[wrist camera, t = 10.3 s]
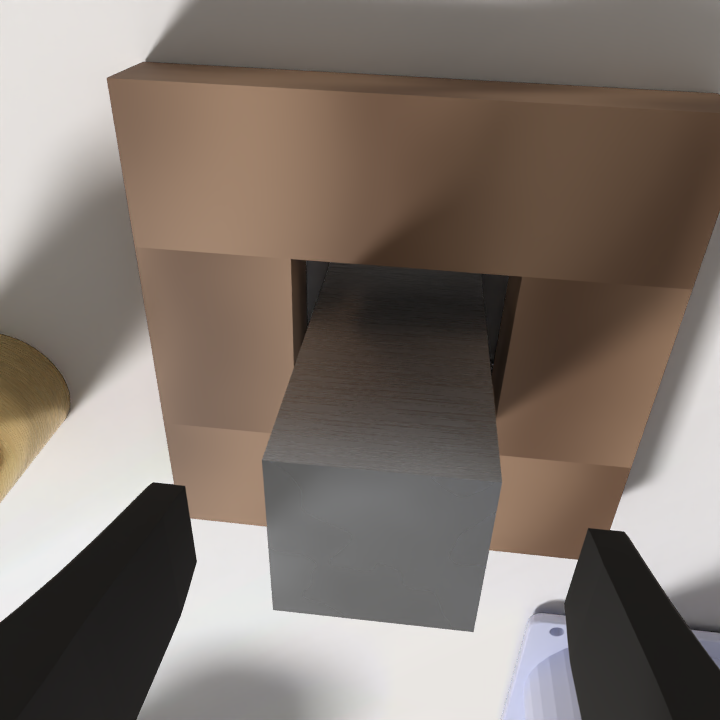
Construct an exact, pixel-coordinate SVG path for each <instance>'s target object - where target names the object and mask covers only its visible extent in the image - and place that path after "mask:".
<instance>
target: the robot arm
mask: <svg viewBox="0 0 720 720" xmlns="http://www.w3.org/2000/svg"><path fill="white" fill-rule="evenodd" d="M196 562H197V560H196V554H195V547H194V540H193V534H192V527H191V521H190V514H189V507H188V501H187V494H186V488H185V486H182V485H173V484H163V483H154V482H153V483H152V484H150V485H149V486H148V487H147V488H146V489H145V490H144V491H143V492H142V493H141V494H140V495H139V496H138V497H137V498H136V499H135V500H134V501H133V502H132V503H131V504H130V505H129V506H128V507H127V508H126V509H125V510H124V511H123V512H122V513H121V514H120V515H119V516H118V517H117V518H116V519H115V520H114V521H113V522H112V523H111V524H110V525H109V526H107V527H106V528H105V529H104V530H103V531H102V532H101V533H100V534H99V535H98V536H97V537H96V538H95V539H94V540H93V541H92V542H91V543H90V544H89V545H88V546H87V547H86V548H85V549H83V550H82V551H81V552H80V553H79V554H78V555H77V556H76V557H75V558H74V559H73V560H72V561H71V562H70V563H69V564H67V565H66V566H65V567H64V568H63V569H62V570H61V571H60V572H59V573H58V574H57V575H55V576H54V577H53V578H52V579H51V580H50V581H49V582H47V583H46V584H45V585H44V586H43V587H42V588H40V589H39V590H38V591H37V592H36V593H35V594H34V595H32V596H31V597H30V598H29V599H28V600H27V601H25V602H24V603H23V604H22V605H21V606H20V607H18V608H17V609H16V610H15V611H14V612H12V613H11V614H10V615H9V616H8V617H6V618H5V619H4V620H3V621H1V622H0V720H136V719H137V717H138V714H139V712H140V710H141V707H142V705H143V703H144V700H145V698H146V696H147V693H148V691H149V689H150V687H151V684H152V682H153V680H154V677H155V675H156V673H157V670H158V668H159V666H160V663H161V661H162V659H163V656H164V654H165V652H166V649H167V647H168V645H169V642H170V640H171V638H172V635H173V633H174V631H175V628H176V626H177V623H178V621H179V618H180V616H181V613H182V610H183V607H184V603H185V600H186V597H187V594H188V590H189V587H190V583H191V580H192V576H193V573H194V569H195V566H196ZM564 604H565V615H556V614H547V613H538V614H534V615H533V616H531V617H530V618H529V620H528V623H527V626H526V630H525V633H524V637H523V641H522V644H521V648H520V651H519V655H518V659H517V662H516V666H515V670H514V673H513V677H512V680H511V684H510V688H509V691H508V695H507V698H506V702H505V706H504V709H503V713H502V717H501V720H720V633H715V632H706V631H698V630H691V629H690V628H689V627H688V625H687V624H686V622H685V621H684V620H683V618H682V617H681V615H680V614H679V612H678V611H677V610H676V608H675V607H674V605H673V604H672V602H671V601H670V599H669V598H668V596H667V595H666V593H665V592H664V590H663V589H662V587H661V586H660V585H659V583H658V582H657V580H656V578H655V577H654V575H653V574H652V572H651V571H650V569H649V568H648V566H647V565H646V563H645V562H644V560H643V559H642V557H641V555H640V554H639V552H638V551H637V549H636V548H635V546H634V545H633V543H632V541H631V540H630V538H629V537H628V536H627V535H626V533H625V532H622V531H612V530H603V529H593V528H588V530H587V533H586V537H585V540H584V543H583V546H582V549H581V552H580V556H579V559H578V562H577V565H576V568H575V571H574V575H573V578H572V581H571V584H570V587H569V590H568V594H567V597H566V600H565V603H564Z"/></svg>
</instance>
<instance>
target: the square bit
mask: <svg viewBox="0 0 720 720" xmlns="http://www.w3.org/2000/svg"><path fill="white" fill-rule="evenodd" d="M262 469H263V482H264V496H265V509H266V522H267V535H268V548H269V561H270V575H271V588H272V601H273V610H279V611H288V612H297V613H306V614H315V615H324V616H333V617H342V618H351V619H360V620H369V621H378V622H387V623H397V624H406V625H415V626H424V627H433V628H442V629H451V630H460V631H469V632H473V631H474V626H475V621H476V616H477V611H478V605H479V600H480V595H481V590H482V585H483V579H484V574H485V569H486V564H487V559H488V553H489V548H490V543H491V538H492V533H493V528H494V522H495V517H496V512H497V507H498V502H499V496H500V491H501V486H502V476H501V466H500V456H499V446H498V436H497V426H496V416H495V406H494V397H493V387H492V377H491V367H490V357H489V347H488V337H487V327H486V317H485V308H484V298H483V288H482V278H481V273H468V272H455V271H442V270H428V269H415V268H402V267H389V266H376V265H363V264H350V263H337V262H330V265H329V268H328V270H327V273H326V276H325V279H324V282H323V285H322V288H321V291H320V294H319V296H318V299H317V302H316V305H315V308H314V311H313V314H312V317H311V320H310V322H309V325H308V328H307V331H306V334H305V337H304V340H303V343H302V346H301V348H300V351H299V354H298V357H297V360H296V363H295V366H294V369H293V372H292V374H291V377H290V380H289V383H288V386H287V389H286V392H285V395H284V398H283V400H282V403H281V406H280V409H279V412H278V415H277V418H276V421H275V424H274V426H273V429H272V432H271V435H270V438H269V441H268V444H267V447H266V450H265V452H264V455H263V458H262Z"/></svg>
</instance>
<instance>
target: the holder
mask: <svg viewBox="0 0 720 720" xmlns="http://www.w3.org/2000/svg"><path fill="white" fill-rule="evenodd" d="M107 83H108V89H109V95H110V101H111V107H112V113H113V119H114V125H115V131H116V137H117V143H118V149H119V155H120V161H121V167H122V173H123V179H124V185H125V191H126V197H127V203H128V209H129V215H130V221H131V227H132V233H133V239H134V245H135V251H136V257H137V263H138V269H139V275H140V281H141V287H142V293H143V299H144V305H145V311H146V317H147V324H148V330H149V336H150V342H151V348H152V354H153V360H154V366H155V372H156V378H157V384H158V390H159V396H160V402H161V408H162V414H163V420H164V426H165V432H166V438H167V444H168V450H169V456H170V462H171V468H172V474H173V480H174V485H182V486H185V488H186V494H187V501H188V507H189V514H190V518H192V519H202V520H211V521H220V522H230V523H239V524H249V525H258V526H267V522H266V509H265V496H264V482H263V469H262V458H263V455H264V452H265V450H266V447H267V444H268V441H269V438H270V435H271V432H272V429H273V426H274V424H275V421H276V418H277V415H278V412H279V409H280V406H281V403H282V400H283V398H284V395H285V392H286V389H287V386H288V383H289V380H290V377H291V374H292V372H293V369H294V366H295V363H296V360H297V357H298V354H299V351H300V348H301V346H302V343H303V340H304V337H305V334H306V331H307V282H306V260H310V261H324V262H337V263H350V264H363V265H376V266H389V267H402V268H415V269H428V270H442V271H455V272H468V273H481V274H494V275H507V276H509V279H508V285H507V290H506V296H505V302H504V308H503V314H502V320H501V325H500V331H499V337H498V343H497V349H496V354H495V360H494V366H493V372H492V387H493V397H494V406H495V416H496V426H497V436H498V446H499V456H500V466H501V476H502V486H501V491H500V496H499V502H498V507H497V512H496V517H495V522H494V528H493V533H492V538H491V543H490V548H489V550H493V551H502V552H511V553H521V554H530V555H540V556H549V557H558V558H568V559H577V560H578V559H579V556H580V552H581V549H582V546H583V543H584V540H585V537H586V533H587V530H588V528H593V529H603V530H610V528H611V525H612V522H613V519H614V516H615V513H616V510H617V507H618V504H619V502H620V499H621V496H622V493H623V490H624V487H625V484H626V481H627V478H628V475H629V473H630V470H631V467H632V464H633V461H634V458H635V455H636V452H637V449H638V446H639V443H640V441H641V438H642V435H643V432H644V429H645V426H646V423H647V420H648V417H649V414H650V412H651V409H652V406H653V403H654V400H655V397H656V394H657V391H658V388H659V385H660V382H661V380H662V377H663V374H664V371H665V368H666V365H667V362H668V359H669V356H670V353H671V350H672V348H673V345H674V342H675V339H676V336H677V333H678V330H679V327H680V324H681V321H682V319H683V316H684V313H685V310H686V307H687V304H688V301H689V298H690V295H691V292H692V289H693V287H694V284H695V281H696V278H697V275H698V272H699V269H700V266H701V263H702V260H703V258H704V255H705V252H706V249H707V246H708V243H709V240H710V237H711V234H712V231H713V228H714V226H715V223H716V220H717V217H718V214H719V211H720V95H719V94H717V93H699V92H681V91H663V90H645V89H627V88H608V87H590V86H572V85H554V84H536V83H518V82H500V81H482V80H463V79H445V78H427V77H409V76H391V75H373V74H355V73H336V72H318V71H300V70H282V69H264V68H246V67H228V66H209V65H191V64H173V63H155V62H142V63H139V64H137V65H135V66H133V67H130V68H128V69H126V70H124V71H121V72H119V73H117V74H115V75H112V76H110V77H108V78H107Z"/></svg>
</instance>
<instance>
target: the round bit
mask: <svg viewBox="0 0 720 720" xmlns="http://www.w3.org/2000/svg"><path fill="white" fill-rule="evenodd" d="M69 408H70V396H69V391H68V388H67V385H66V383H65V381H64V379H63V377H62V375H61V374H60V372H59V371H58V370H57V368H56V367H55V366H54V365H53V364H52V363H51V362H50V361H49V359H47V358H46V357H45V356H44V355H43V354H42V353H40V352H39V351H37V350H36V349H35V348H33V347H31V346H30V345H28V344H26V343H24V342H22V341H20V340H18V339H15V338H12V337H9V336H6V335H2V334H0V503H1V501H2V500H3V499H4V498H5V496H6V495H7V494H8V492H9V491H10V490H11V489H12V487H13V486H14V485H15V483H16V482H17V481H18V480H19V478H20V477H21V476H22V474H23V473H24V472H25V470H26V469H27V468H28V467H29V465H30V464H31V463H32V461H33V460H34V459H35V458H36V456H37V455H38V454H39V452H40V451H41V450H42V449H43V447H44V446H45V445H46V443H47V442H48V441H49V440H50V438H51V437H52V436H53V434H54V433H55V432H56V430H57V429H58V428H59V427H60V425H61V424H62V423H63V421H64V420H65V418H66V417H67V415H68V412H69Z"/></svg>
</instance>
